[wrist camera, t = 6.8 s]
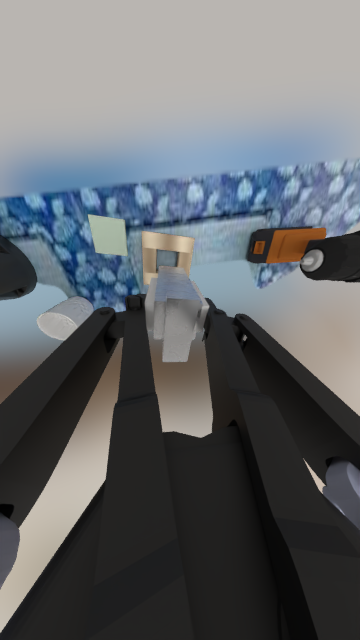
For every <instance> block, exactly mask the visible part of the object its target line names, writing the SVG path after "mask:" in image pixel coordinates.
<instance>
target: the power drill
mask: <svg viewBox="0 0 360 640" xmlns="http://www.w3.org/2000/svg"><path fill="white" fill-rule="evenodd" d="M325 237H326V228H312V226H309V227H291V228H272V229H258V230H257V232H253V237H252V241H251V246H250V251H249V255H248V261H250V262H252V263H281V262H296V261H300V268H301V271H302V272H303V273H304V275H305V276H306V277H307V278H310V279H313V280H331V281H345V282H360V231H357V232H354V233H351V234H345V235H342V236H337V237H328V238H325Z"/></svg>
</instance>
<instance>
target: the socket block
mask: <svg viewBox="0 0 360 640" xmlns="http://www.w3.org/2000/svg"><path fill="white" fill-rule="evenodd" d="M194 240H195V238H191V237H183V236H176V235H169V234H162V233H155V232H147V231H142V253H143V280H144V284H145V285H150V281H151V277H152V278H158V271H159V270H156V267H157V249H161V250H169V251H178V256H177V266H176V267H180V268H184V270H185V272H186V274H187V275H188V277H189V272H190V266H191V259H192V253H193V246H194Z"/></svg>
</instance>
